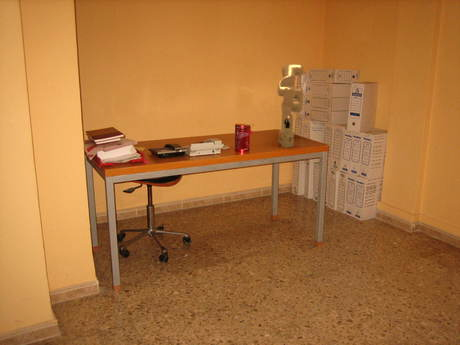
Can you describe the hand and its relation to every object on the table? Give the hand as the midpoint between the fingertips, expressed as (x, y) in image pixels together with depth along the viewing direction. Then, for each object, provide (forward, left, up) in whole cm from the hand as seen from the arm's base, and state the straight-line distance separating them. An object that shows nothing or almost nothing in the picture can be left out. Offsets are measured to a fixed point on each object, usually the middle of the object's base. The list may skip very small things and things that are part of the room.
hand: (286, 126), depth 332 cm
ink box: (0, 0, -15) cm, 15 cm away
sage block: (0, 0, -3) cm, 3 cm away
